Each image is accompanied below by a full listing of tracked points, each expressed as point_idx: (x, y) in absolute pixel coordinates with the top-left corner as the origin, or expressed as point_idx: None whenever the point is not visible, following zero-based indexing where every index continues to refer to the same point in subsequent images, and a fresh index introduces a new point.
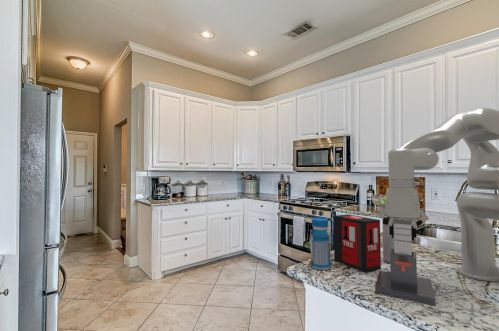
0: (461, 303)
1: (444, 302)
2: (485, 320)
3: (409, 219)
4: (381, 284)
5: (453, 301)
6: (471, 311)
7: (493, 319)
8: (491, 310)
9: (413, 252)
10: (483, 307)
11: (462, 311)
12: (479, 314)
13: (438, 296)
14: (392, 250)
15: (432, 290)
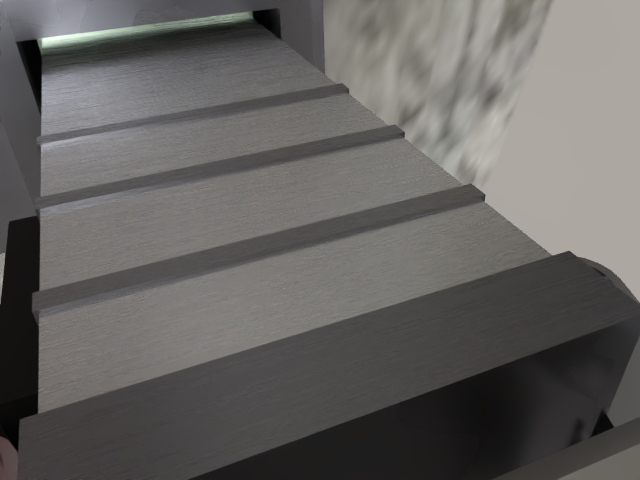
0: (431, 35)
1: (356, 84)
2: (475, 161)
3: (593, 353)
4: (3, 194)
5: (399, 34)
6: (450, 108)
7: (505, 129)
8: (533, 30)
9: (284, 26)
10: (513, 15)
11: (415, 136)
12: (471, 117)
13: (333, 11)
14: (22, 110)
15: (319, 59)
